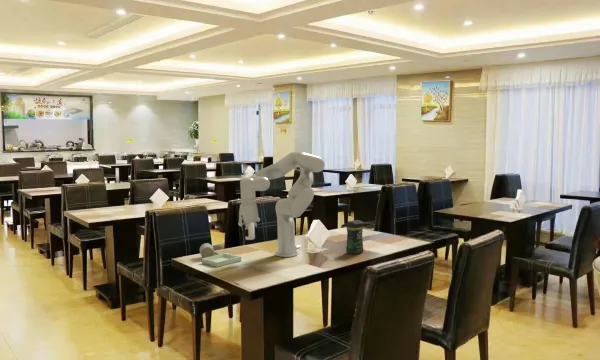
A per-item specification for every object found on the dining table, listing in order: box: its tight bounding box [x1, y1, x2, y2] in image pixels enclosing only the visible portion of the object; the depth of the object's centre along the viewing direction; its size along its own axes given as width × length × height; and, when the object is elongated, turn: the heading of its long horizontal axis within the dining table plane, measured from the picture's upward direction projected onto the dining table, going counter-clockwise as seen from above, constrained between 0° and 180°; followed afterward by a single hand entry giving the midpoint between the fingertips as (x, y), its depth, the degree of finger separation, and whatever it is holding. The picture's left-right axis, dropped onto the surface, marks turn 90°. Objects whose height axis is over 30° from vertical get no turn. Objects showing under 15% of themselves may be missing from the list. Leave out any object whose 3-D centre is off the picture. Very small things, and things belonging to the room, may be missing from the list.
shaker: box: [244, 221, 256, 241], centre depth 257 cm, size 5×5×10 cm
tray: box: [201, 252, 242, 268], centre depth 258 cm, size 16×13×3 cm
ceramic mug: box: [199, 242, 220, 258], centre depth 268 cm, size 11×8×8 cm
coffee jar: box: [345, 219, 364, 255], centre depth 274 cm, size 10×8×19 cm
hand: (250, 235), depth 257 cm, fingers closed on shaker, 5 cm apart
